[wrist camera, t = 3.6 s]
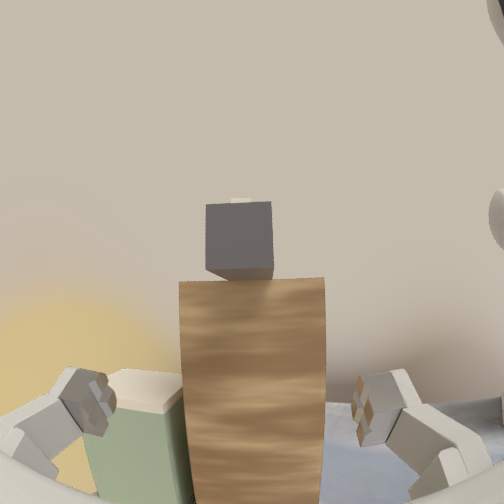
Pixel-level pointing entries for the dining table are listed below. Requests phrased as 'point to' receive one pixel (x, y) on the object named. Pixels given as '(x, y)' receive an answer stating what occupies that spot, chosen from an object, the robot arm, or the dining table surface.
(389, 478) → the dining table surface
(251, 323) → the oak stand
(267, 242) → the grey bar with knob
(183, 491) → the block
